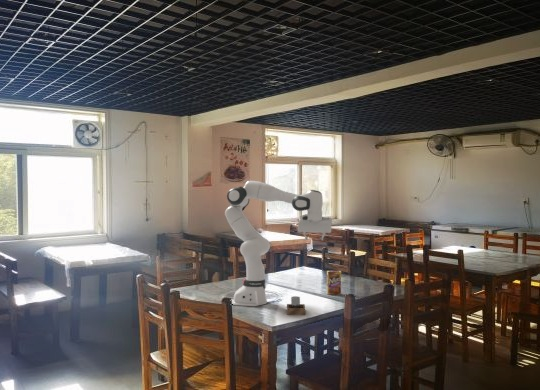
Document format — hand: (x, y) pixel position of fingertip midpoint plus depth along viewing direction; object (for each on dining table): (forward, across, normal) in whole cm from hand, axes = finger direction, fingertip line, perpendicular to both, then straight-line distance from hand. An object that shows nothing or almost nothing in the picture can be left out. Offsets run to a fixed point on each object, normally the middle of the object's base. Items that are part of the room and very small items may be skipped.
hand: (314, 239), depth 282 cm
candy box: (+39, -16, -25) cm, 49 cm away
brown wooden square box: (+38, +10, +22) cm, 45 cm away
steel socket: (+37, +10, +22) cm, 44 cm away
